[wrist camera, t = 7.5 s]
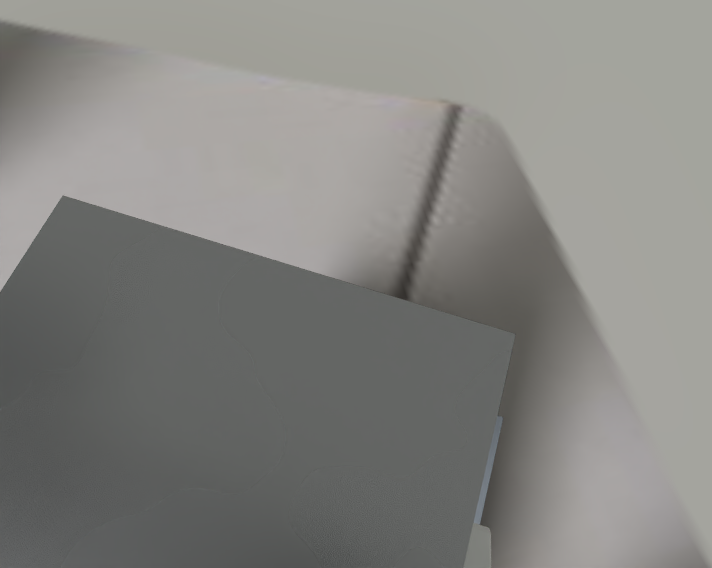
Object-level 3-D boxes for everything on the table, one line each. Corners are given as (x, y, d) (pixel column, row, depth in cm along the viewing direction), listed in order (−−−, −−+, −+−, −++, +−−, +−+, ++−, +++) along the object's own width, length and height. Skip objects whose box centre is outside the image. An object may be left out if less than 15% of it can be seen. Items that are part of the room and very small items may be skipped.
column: (220, 570, 20) (-293, 743, 4) (272, 434, 22) (62, 195, 6) (353, 622, 20) (352, 1059, 4) (394, 476, 22) (515, 333, 6)
